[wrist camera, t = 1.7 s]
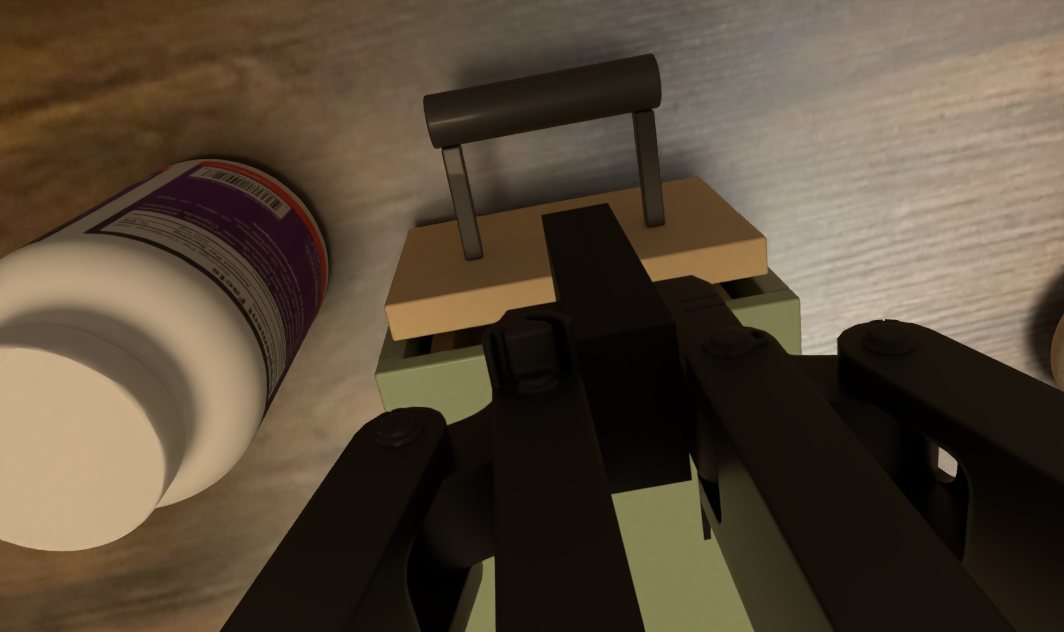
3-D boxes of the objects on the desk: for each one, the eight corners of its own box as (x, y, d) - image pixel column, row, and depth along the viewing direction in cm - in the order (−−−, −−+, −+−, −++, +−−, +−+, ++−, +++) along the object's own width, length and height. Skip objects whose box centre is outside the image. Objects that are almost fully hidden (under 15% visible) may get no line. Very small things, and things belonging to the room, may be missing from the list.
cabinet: (406, 263, 31) (373, 374, 22) (710, 208, 30) (801, 297, 22) (477, 541, 37) (473, 716, 28) (733, 496, 36) (811, 659, 28)
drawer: (373, 89, 27) (332, 125, 20) (686, 30, 27) (758, 46, 20) (477, 505, 35) (475, 639, 27) (722, 462, 34) (783, 586, 27)
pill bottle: (168, 357, 32) (-58, 618, 19) (95, 170, 29) (-241, 328, 15) (356, 326, 32) (264, 568, 19) (305, 136, 28) (148, 264, 15)
